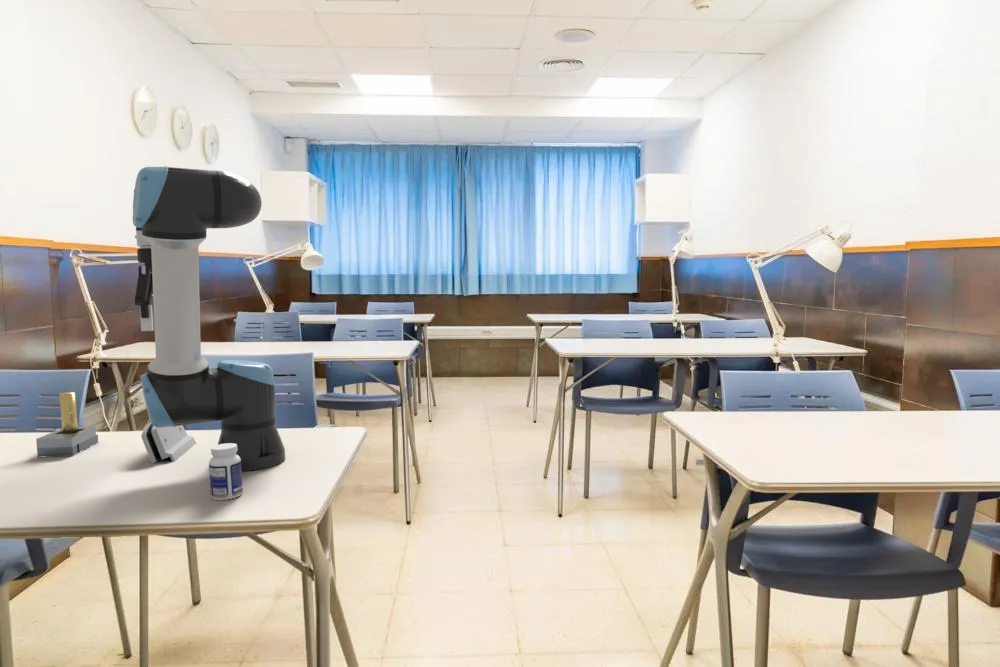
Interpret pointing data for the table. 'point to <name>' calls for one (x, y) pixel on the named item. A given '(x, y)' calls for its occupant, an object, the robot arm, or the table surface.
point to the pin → (68, 413)
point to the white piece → (166, 442)
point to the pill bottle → (225, 472)
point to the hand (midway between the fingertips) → (158, 328)
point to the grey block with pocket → (66, 442)
